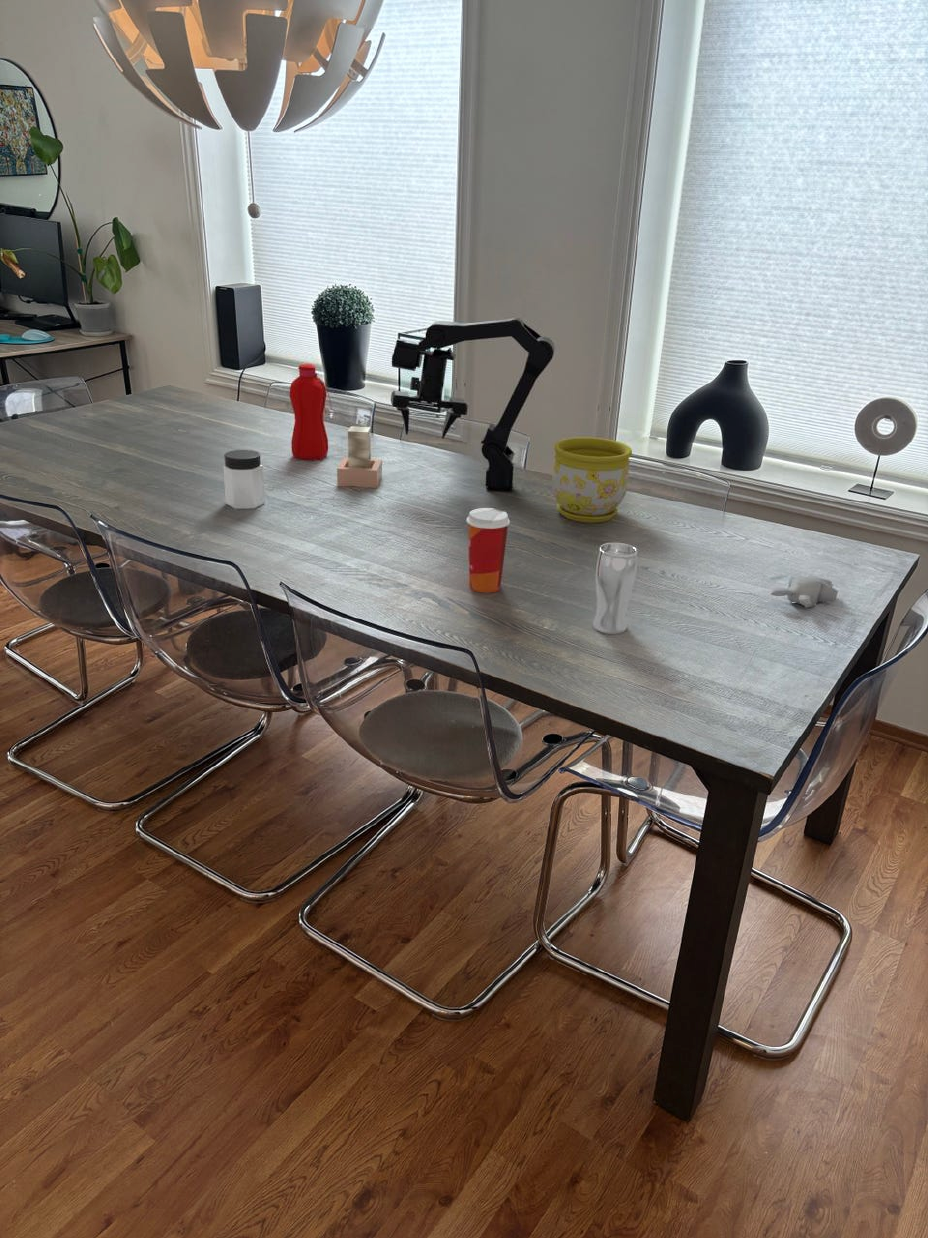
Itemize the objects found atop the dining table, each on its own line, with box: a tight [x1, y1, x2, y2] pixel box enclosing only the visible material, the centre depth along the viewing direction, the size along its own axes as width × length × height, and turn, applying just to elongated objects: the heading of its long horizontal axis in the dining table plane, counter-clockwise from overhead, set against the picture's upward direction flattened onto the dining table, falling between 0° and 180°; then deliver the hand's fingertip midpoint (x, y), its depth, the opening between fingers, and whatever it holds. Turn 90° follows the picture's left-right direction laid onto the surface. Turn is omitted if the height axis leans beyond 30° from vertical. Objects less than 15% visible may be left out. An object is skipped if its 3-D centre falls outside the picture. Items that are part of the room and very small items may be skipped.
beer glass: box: [592, 542, 638, 635], centre depth 168 cm, size 7×7×15 cm
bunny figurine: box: [771, 574, 839, 608], centre depth 183 cm, size 10×5×15 cm
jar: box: [222, 449, 266, 510], centre depth 222 cm, size 9×8×12 cm
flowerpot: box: [551, 436, 633, 524], centre depth 223 cm, size 18×18×16 cm
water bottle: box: [288, 363, 332, 461], centre depth 257 cm, size 9×11×25 cm
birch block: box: [347, 426, 372, 469], centre depth 241 cm, size 5×5×12 cm
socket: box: [336, 457, 383, 489], centre depth 243 cm, size 10×10×4 cm
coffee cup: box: [466, 507, 511, 594], centre depth 182 cm, size 8×8×15 cm
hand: (424, 436), depth 240 cm, fingers open, 9 cm apart
